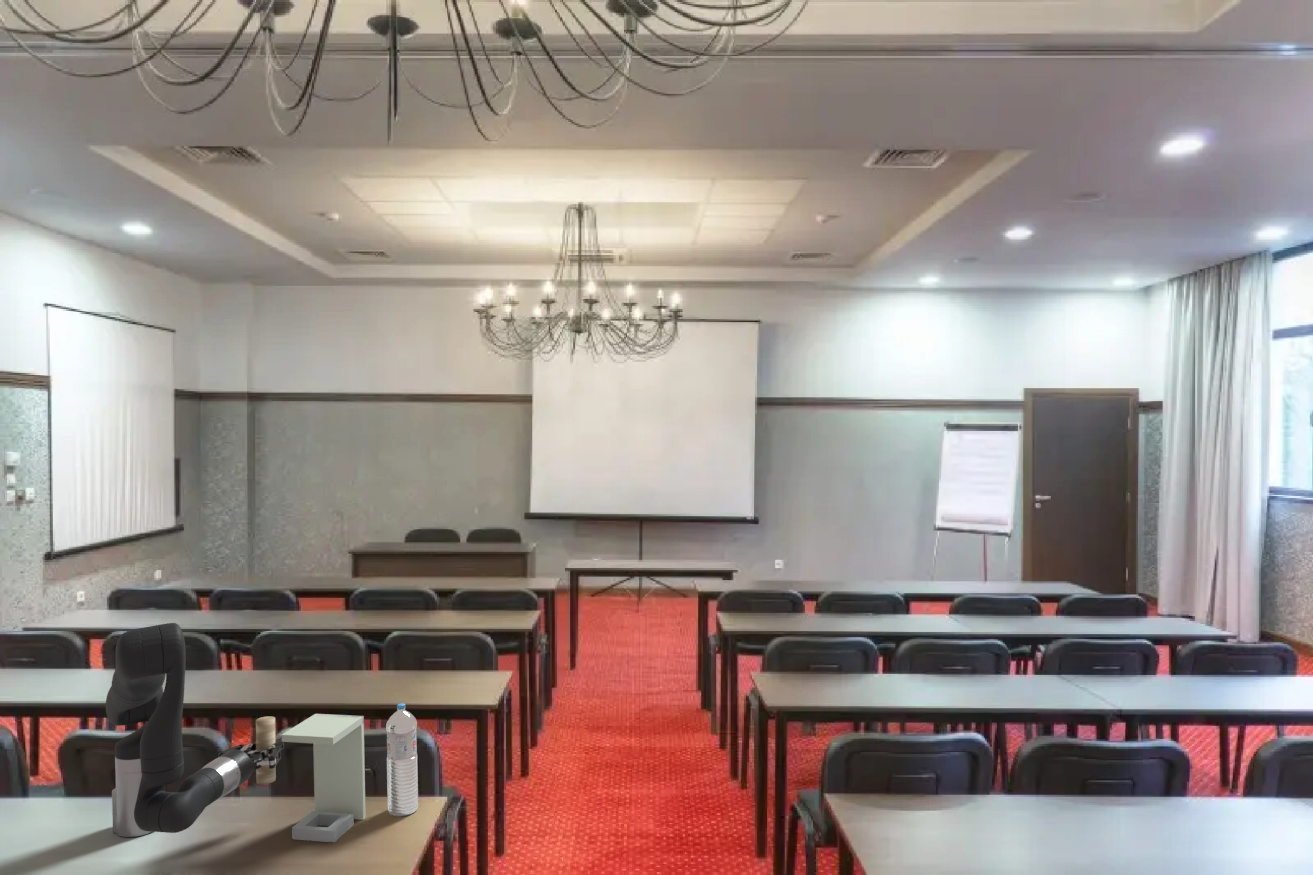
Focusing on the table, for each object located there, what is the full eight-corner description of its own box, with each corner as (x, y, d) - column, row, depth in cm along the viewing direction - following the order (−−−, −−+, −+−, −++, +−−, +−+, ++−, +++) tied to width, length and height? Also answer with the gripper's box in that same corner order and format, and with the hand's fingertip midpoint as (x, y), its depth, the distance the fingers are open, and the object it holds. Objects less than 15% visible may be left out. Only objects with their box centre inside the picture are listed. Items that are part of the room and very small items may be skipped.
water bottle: (409, 818, 193) (407, 710, 192) (382, 816, 194) (380, 708, 194) (423, 805, 200) (421, 700, 199) (396, 802, 201) (395, 698, 200)
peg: (252, 783, 190) (251, 722, 189) (263, 776, 194) (262, 715, 193) (268, 785, 189) (268, 723, 189) (279, 777, 193) (278, 716, 193)
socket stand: (283, 842, 183) (281, 734, 182) (317, 814, 195) (315, 713, 195) (335, 846, 181) (333, 737, 180) (365, 817, 194) (363, 716, 193)
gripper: (254, 759, 176) (301, 728, 193) (192, 755, 178) (244, 725, 195) (254, 795, 176) (301, 761, 193) (193, 790, 178) (245, 757, 195)
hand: (272, 743), depth 194 cm, fingers closed on peg, 4 cm apart
